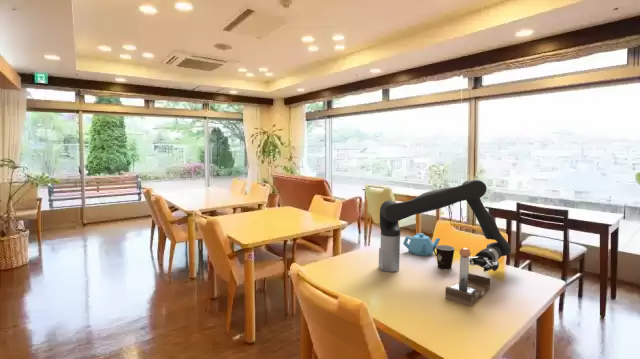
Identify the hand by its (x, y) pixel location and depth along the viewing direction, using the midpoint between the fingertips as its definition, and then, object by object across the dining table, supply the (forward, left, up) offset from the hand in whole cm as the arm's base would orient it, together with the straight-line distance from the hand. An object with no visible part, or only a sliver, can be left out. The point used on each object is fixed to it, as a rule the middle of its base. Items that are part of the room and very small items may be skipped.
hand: (474, 266), depth 148 cm
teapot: (-1, +50, -10) cm, 51 cm away
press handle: (-8, -7, -8) cm, 14 cm away
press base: (-4, -3, -10) cm, 11 cm away
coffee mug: (+1, +28, -10) cm, 30 cm away
